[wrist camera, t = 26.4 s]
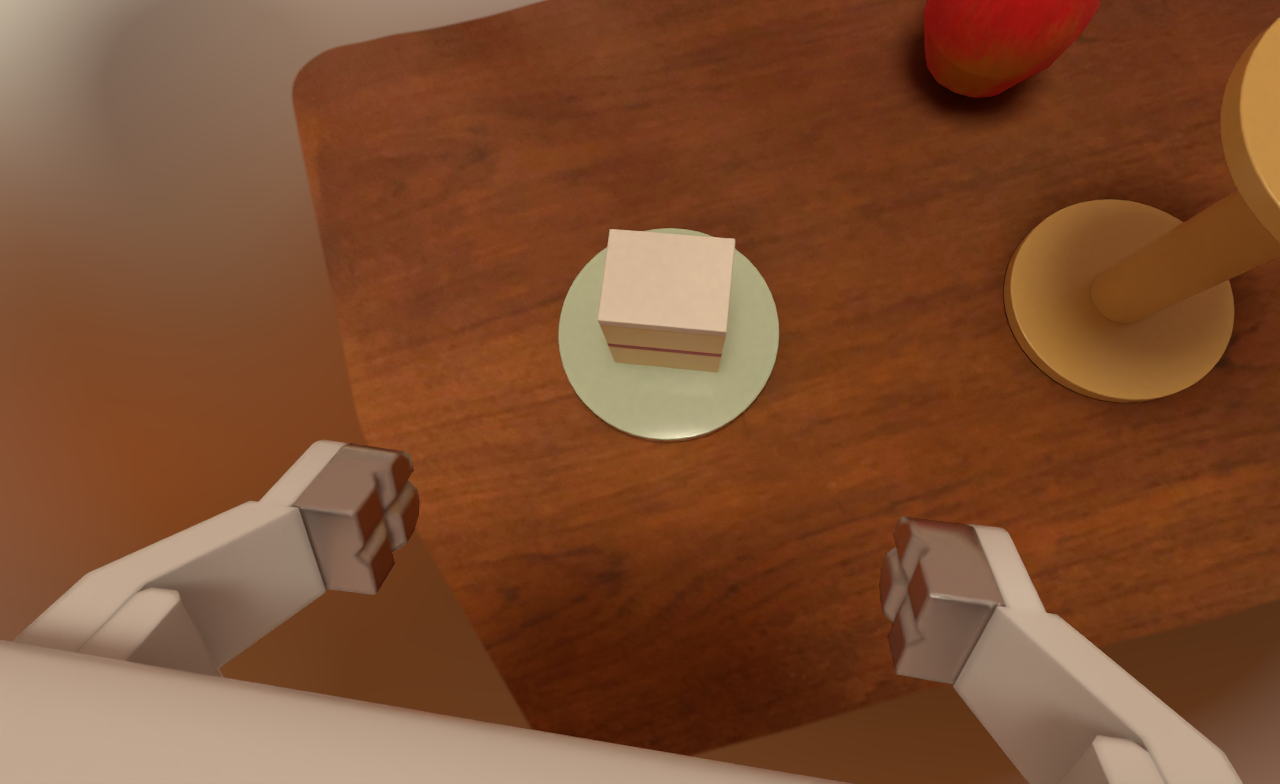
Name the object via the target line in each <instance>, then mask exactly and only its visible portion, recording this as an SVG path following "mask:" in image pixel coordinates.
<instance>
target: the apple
mask: <svg viewBox="0 0 1280 784" xmlns="http://www.w3.org/2000/svg"><path fill="white" fill-rule="evenodd" d="M1100 2H1101V0H927V3H926V6H925V9H924V11H923V21H924V42H925V55H926V63H927V68H928V69H929V71H930V72H931V74H932V75H933V77H934V78H935V80H936V81H937V82H938V83H939V84H941V85H943V86H944V87H946V88H947V89H949V90H951V91H952V92H954V93H958V94H961V95H965V96H969V97H972V98H979V97H990V96H996V95H997V94H999V93H1001V92H1003V91H1005V90H1007V89H1009V88H1011V87H1012V86H1014V85H1016V84H1018V83H1020V82H1022V81H1024V80H1025V79H1027V78H1029V77H1031V76H1033V75H1035V74H1037V73H1038V72H1040V71H1042V70H1044V69H1046V68H1048V67H1049V66H1050V65H1051V64H1052V63H1053V62H1054V61H1055V60H1056V59H1057V58H1058V57H1059V56H1060V55H1061V54H1062V53H1063V52H1064V51H1065V50H1066V49H1067V48H1068V47H1069V46H1070V45H1071V44H1072V43H1073V42H1074V41H1075V40H1076V39H1077V38H1078V37H1079V36H1080V35H1081V34H1082V32H1083V31H1084V30H1085V28H1086V27H1087V25H1088V24H1089V22H1090V21H1091V20H1092V18H1093V17H1094V15H1095V14H1096V12H1097V11H1098V8H1099V5H1100Z"/></svg>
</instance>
